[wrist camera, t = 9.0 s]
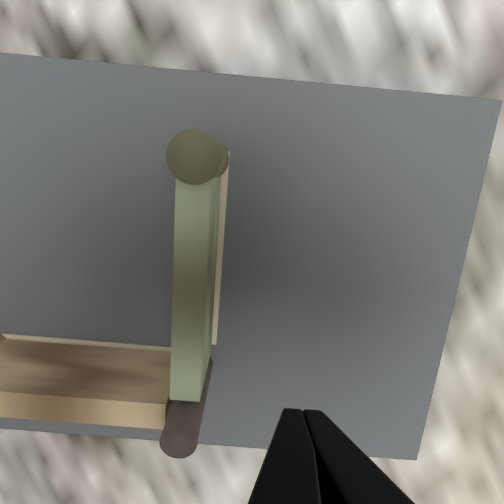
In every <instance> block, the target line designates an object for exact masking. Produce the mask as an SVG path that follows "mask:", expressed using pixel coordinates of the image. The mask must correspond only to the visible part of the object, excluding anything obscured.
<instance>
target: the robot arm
mask: <svg viewBox="0 0 504 504" xmlns="http://www.w3.org/2000/svg"><path fill="white" fill-rule="evenodd" d="M248 504H415V503H414V502H413V501H412V500H411V499H410V498H409V497H408V496H407V495H406V494H405V493H404V492H403V491H402V490H401V489H400V488H399V487H398V486H397V485H396V484H395V483H394V482H393V481H392V480H391V479H390V478H389V477H388V476H387V475H386V474H385V473H384V472H383V471H382V470H381V469H380V468H379V467H378V466H377V465H376V464H375V463H374V462H373V461H372V460H371V459H370V458H369V457H368V456H367V455H366V454H365V453H364V452H363V451H362V450H361V449H360V448H359V447H358V446H357V445H356V444H355V443H354V442H353V441H352V440H351V439H350V438H349V437H348V436H347V435H346V434H345V433H344V432H343V431H342V430H341V429H340V428H339V427H338V426H337V425H336V424H335V423H334V422H333V421H332V420H331V419H330V418H329V417H328V416H327V415H326V414H325V413H324V412H322V411H321V410H312V409H304V410H303V411H302V410H301V409H295V408H284V409H283V410H282V413H281V416H280V418H279V421H278V424H277V426H276V429H275V432H274V435H273V437H272V440H271V443H270V445H269V448H268V451H267V453H266V456H265V459H264V461H263V464H262V467H261V470H260V472H259V475H258V478H257V480H256V483H255V486H254V488H253V491H252V494H251V496H250V499H249V502H248Z"/></svg>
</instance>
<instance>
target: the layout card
mask: <svg viewBox="0 0 504 504" xmlns="http://www.w3.org/2000/svg"><path fill="white" fill-rule="evenodd" d="M501 104H502V100H495V99H484V98H474V97H463V96H453V95H442V94H431V93H421V92H410V91H400V90H389V89H379V88H368V87H358V86H347V85H336V84H326V83H315V82H305V81H294V80H284V79H273V78H263V77H252V76H241V75H231V74H220V73H210V72H199V71H189V70H178V69H168V68H157V67H146V66H136V65H125V64H115V63H104V62H94V61H83V60H73V59H62V58H51V57H41V56H30V55H20V54H9V53H0V333H2V334H1V335H3V336H4V337H6V338H7V339H8V340H21V341H33V342H45V343H58V344H70V345H82V346H95V347H107V348H119V349H132V350H144V351H156V352H169V353H171V329H172V293H173V257H174V222H175V186H176V177H175V176H174V175H173V174H172V173H171V171H170V170H169V167H168V165H167V161H166V150H167V146H168V144H169V142H170V140H171V139H172V138H173V136H174V135H176V134H177V133H178V132H180V131H182V130H185V129H190V128H193V129H199V130H202V131H205V132H206V133H208V134H209V135H211V136H212V137H214V138H215V139H217V140H218V141H220V142H221V143H222V144H223V145H224V146H225V147H226V149H227V151H228V155H229V164H228V167H227V169H226V171H225V172H224V173H223V174H222V175H221V190H220V207H219V224H218V242H217V259H216V276H215V294H214V311H213V328H212V345H211V354H210V357H211V358H212V361H213V367H212V372H211V377H210V382H209V387H208V392H207V397H206V402H205V407H204V412H203V417H202V422H201V427H200V432H199V437H198V442H197V444H210V445H223V446H236V447H249V448H262V449H268V448H269V445H270V443H271V440H272V437H273V435H274V432H275V429H276V426H277V424H278V421H279V418H280V416H281V413H282V410H283V409H284V408H295V409H301V410H302V411H303V410H304V409H312V410H321V411H322V412H324V413H325V414H326V415H327V416H328V417H329V418H330V419H331V420H332V421H333V422H334V423H335V424H336V425H337V426H338V427H339V428H340V429H341V430H342V431H343V432H344V433H345V434H346V435H347V436H348V437H349V438H350V439H351V440H352V441H353V442H354V443H355V444H356V445H357V446H358V447H359V448H360V449H361V450H362V451H363V452H364V453H365V454H366V455H367V456H368V457H379V458H392V459H405V460H417V456H418V452H419V448H420V443H421V439H422V435H423V431H424V427H425V422H426V418H427V414H428V410H429V406H430V401H431V397H432V393H433V389H434V385H435V380H436V376H437V372H438V368H439V364H440V359H441V355H442V351H443V347H444V343H445V339H446V334H447V330H448V326H449V322H450V318H451V313H452V309H453V305H454V301H455V297H456V292H457V288H458V284H459V280H460V276H461V271H462V267H463V263H464V259H465V255H466V250H467V246H468V242H469V238H470V234H471V229H472V225H473V221H474V217H475V213H476V209H477V204H478V200H479V196H480V192H481V188H482V183H483V179H484V175H485V171H486V167H487V162H488V158H489V154H490V150H491V146H492V141H493V137H494V133H495V129H496V125H497V120H498V116H499V112H500V108H501ZM0 428H1V429H14V430H27V431H41V432H54V433H67V434H80V435H93V436H106V437H119V438H132V439H145V440H158V441H160V437H161V434H162V431H163V430H162V429H149V428H136V427H123V426H111V425H98V424H85V423H72V422H59V421H46V420H33V419H20V418H7V417H0Z"/></svg>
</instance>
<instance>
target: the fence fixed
mask: <svg viewBox="0 0 504 504" xmlns="http://www.w3.org/2000/svg"><path fill="white" fill-rule="evenodd" d="M1 334H2V333H0V417H7V418H20V419H33V420H46V421H59V422H72V423H85V424H98V425H111V426H123V427H136V428H149V429H162V430H163V431H162V434H161V437H160V447H161V449H162V450H163V452H164V453H165V454H167V455H168V456H170V457H173V458H185V457H188V456H190V455H191V454H192V453H193V452H194V451H195V449H196V446H197V442H198V437H199V432H200V427H201V422H202V417H203V412H204V407H205V402H206V397H207V392H208V387H209V382H210V377H211V372H212V367H213V361H212V358H211V357H210V358H209V363H208V367H207V372H206V376H205V380H204V385H203V389H202V394H201V398H200V402H195V401H181V400H170V365H171V353H169V352H156V351H144V350H132V349H119V348H107V347H95V346H82V345H70V344H58V343H45V342H33V341H21V340H8V339H7V338H6V337H4V336H3V335H1Z"/></svg>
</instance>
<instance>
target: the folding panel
mask: <svg viewBox="0 0 504 504" xmlns="http://www.w3.org/2000/svg"><path fill="white" fill-rule="evenodd" d="M166 161H167V165H168V167H169V170H170V171H171V173H172V174H173V175H174V176H175V177H176V186H175V222H174V257H173V293H172V329H171V365H170V400H181V401H195V402H200V398H201V394H202V389H203V385H204V380H205V376H206V372H207V367H208V363H209V358H210V354H211V345H212V328H213V311H214V294H215V276H216V259H217V242H218V224H219V207H220V190H221V175H222V174H223V173H224V172H225V171H226V169H227V167H228V164H229V155H228V151H227V149H226V147H225V146H224V145H223V144H222V143H221V142H220V141H218V140H217V139H215V138H214V137H212V136H211V135H209V134H208V133H206V132H205V131H202V130H199V129H193V128H190V129H185V130H182V131H180V132H178V133H177V134H176V135H174V136H173V138H172V139H171V140H170V142H169V144H168V146H167V150H166Z"/></svg>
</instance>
